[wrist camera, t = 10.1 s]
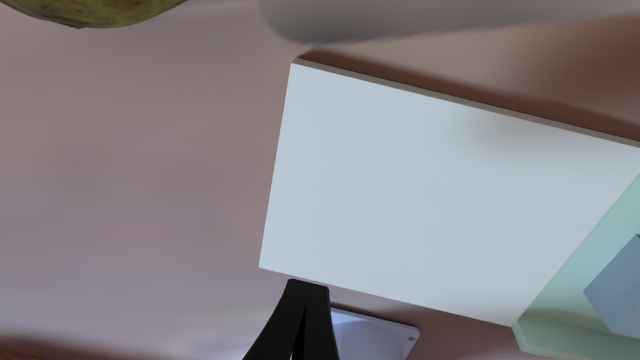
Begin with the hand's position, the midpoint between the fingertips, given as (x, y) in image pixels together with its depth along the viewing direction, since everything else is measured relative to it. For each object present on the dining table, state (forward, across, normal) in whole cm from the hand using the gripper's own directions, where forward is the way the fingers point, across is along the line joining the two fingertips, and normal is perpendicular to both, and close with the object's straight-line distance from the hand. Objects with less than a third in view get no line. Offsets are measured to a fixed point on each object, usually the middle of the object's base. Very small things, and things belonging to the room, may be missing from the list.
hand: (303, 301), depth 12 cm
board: (+10, -6, +2) cm, 12 cm away
